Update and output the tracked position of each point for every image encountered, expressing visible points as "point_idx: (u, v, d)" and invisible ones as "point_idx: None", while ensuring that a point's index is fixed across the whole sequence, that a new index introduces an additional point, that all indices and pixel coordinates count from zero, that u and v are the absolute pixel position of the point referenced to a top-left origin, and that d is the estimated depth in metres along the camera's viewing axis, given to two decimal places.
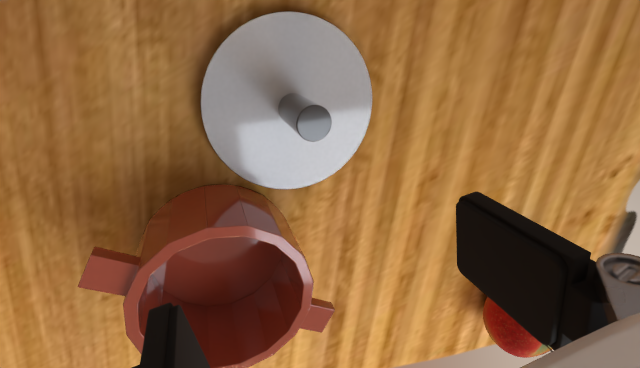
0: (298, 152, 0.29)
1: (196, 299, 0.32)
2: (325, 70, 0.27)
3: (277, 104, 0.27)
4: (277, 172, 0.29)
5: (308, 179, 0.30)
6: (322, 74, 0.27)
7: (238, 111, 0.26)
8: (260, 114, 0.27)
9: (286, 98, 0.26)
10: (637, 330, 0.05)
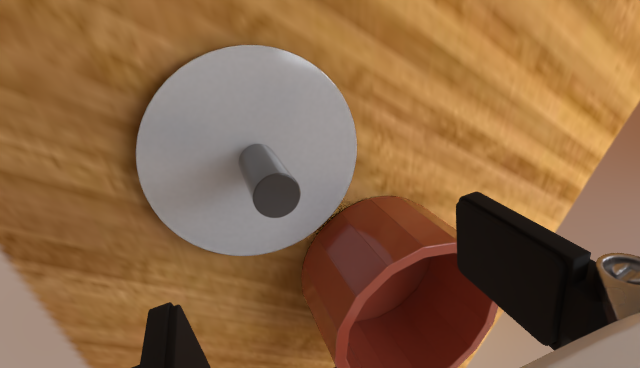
0: (311, 169, 0.23)
1: (404, 295, 0.32)
2: (224, 108, 0.20)
3: None
4: (322, 197, 0.24)
5: (348, 165, 0.24)
6: (228, 113, 0.20)
7: (239, 220, 0.23)
8: (251, 199, 0.23)
9: (241, 174, 0.21)
10: (637, 329, 0.05)
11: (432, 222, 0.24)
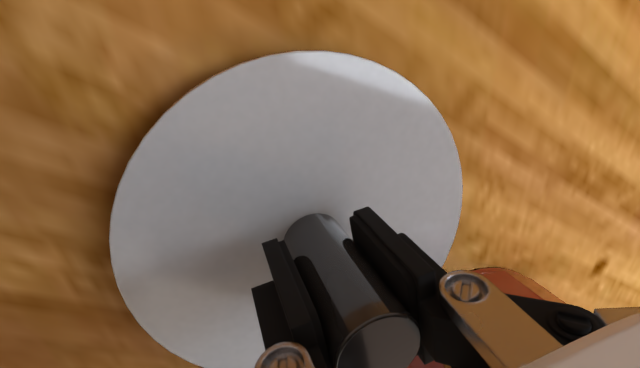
0: None
1: None
2: (263, 160, 0.12)
3: None
4: None
5: (445, 235, 0.16)
6: (269, 168, 0.12)
7: None
8: None
9: None
10: (637, 330, 0.05)
11: None
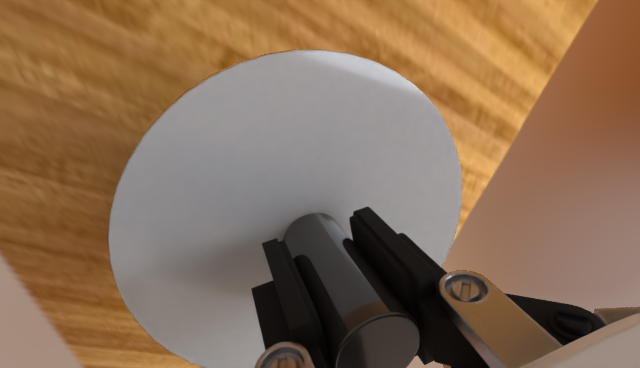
0: None
1: None
2: (262, 159, 0.12)
3: None
4: None
5: (445, 235, 0.16)
6: (268, 168, 0.12)
7: None
8: None
9: None
10: (638, 330, 0.05)
11: None
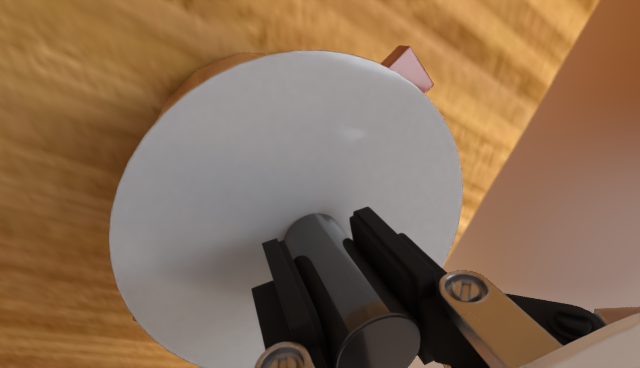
0: None
1: None
2: (263, 159, 0.12)
3: None
4: None
5: (446, 235, 0.16)
6: (269, 168, 0.12)
7: None
8: None
9: None
10: (638, 330, 0.05)
11: None
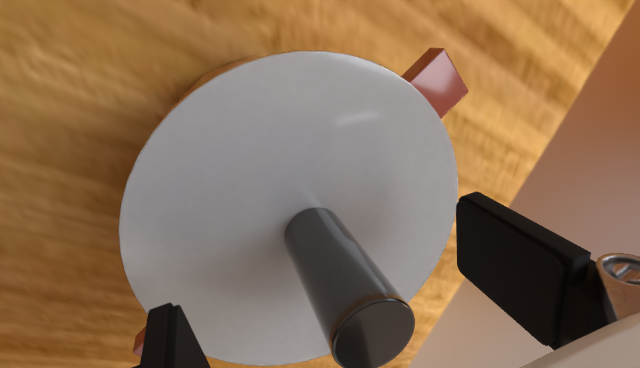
0: (390, 238, 0.15)
1: None
2: (265, 155, 0.12)
3: None
4: (402, 277, 0.16)
5: (442, 230, 0.16)
6: (271, 163, 0.12)
7: (280, 318, 0.15)
8: (299, 288, 0.15)
9: None
10: (637, 329, 0.05)
11: None
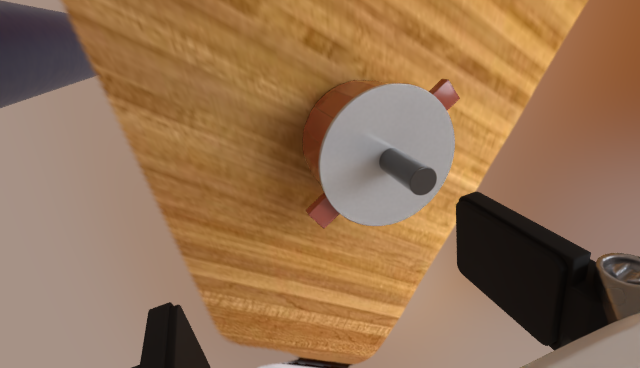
0: None
1: None
2: (376, 124, 0.31)
3: (382, 171, 0.32)
4: None
5: (447, 163, 0.34)
6: (377, 127, 0.31)
7: (373, 200, 0.33)
8: (383, 186, 0.33)
9: (383, 168, 0.31)
10: (637, 330, 0.05)
11: None
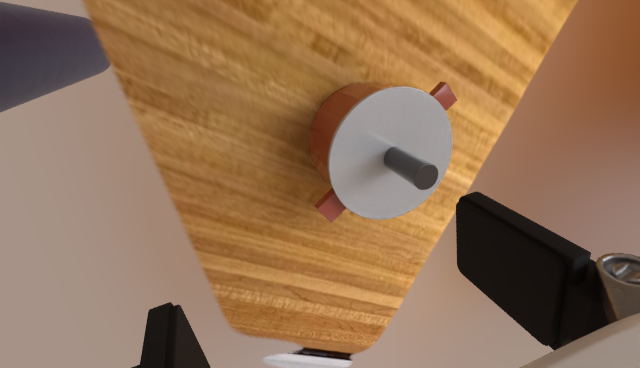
0: None
1: None
2: (381, 124, 0.33)
3: (386, 168, 0.35)
4: None
5: (445, 160, 0.37)
6: (382, 127, 0.33)
7: (378, 195, 0.36)
8: (386, 182, 0.35)
9: (388, 165, 0.34)
10: (638, 329, 0.05)
11: None
